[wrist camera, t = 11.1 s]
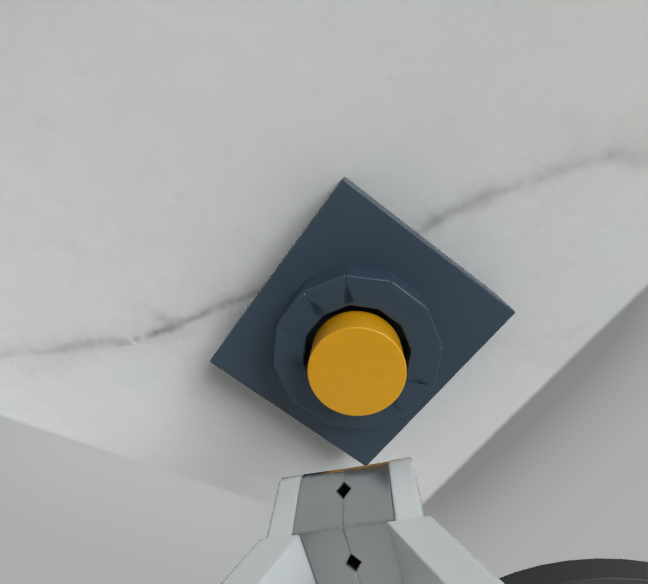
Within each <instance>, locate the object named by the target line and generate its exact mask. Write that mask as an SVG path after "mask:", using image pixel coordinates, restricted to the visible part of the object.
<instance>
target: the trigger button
mask: <svg viewBox="0 0 648 584" xmlns="http://www.w3.org/2000/svg"><path fill="white" fill-rule="evenodd" d="M307 374H308V380H309V384H310V386H311V389H312V390H313V392H314V394H315V395H316V397H317V398H318V399H319V400H320V401H321V402H322V403H323V404H324V405H326V406H327V407H328V408H330V409H332V410H334V411H336V412H338V413H341V414H345V415H350V416H365V415H370V414H374V413H377V412H379V411H381V410H383V409H385V408H387V407H388V406H389V405H391V404H392V403H393V402H394V401H395V400H396V399H397V398H398V396H399V395H400V393H401V392H402V390H403V388H404V385H405V382H406V377H407V366H406V361H405V357H404V354H403V350H402V346H401V342H400V339H399V337H398V335H397V333H396V331H395V330H394V328H393V327H392V326H391V325H390V324H389V323H388V322H387V321H386V320H384V319H383V318H381V317H379V316H377V315H375V314H372V313H369V312H365V311H348V312H343V313H340V314H337V315H335V316H333V317H332V318H330V319H328V320H327V321H326V322H325V323H324V324H323V325H322V326H321V327H320V328H319V330H318V331H317V333H316V335H315V337H314V339H313V343H312V347H311V352H310V357H309V361H308V368H307Z"/></svg>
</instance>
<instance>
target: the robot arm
mask: <svg viewBox="0 0 648 584" xmlns="http://www.w3.org/2000/svg"><path fill="white" fill-rule="evenodd" d="M221 584H504V583H503V582H502V581H501V580H500V579H499V578H498V577H496V576H495V575H494V574H493V573H492V572H491V571H490V570H489V569H488V568H487V567H486V566H484V565H483V564H482V563H481V562H480V561H479V560H478V559H477V558H476V557H475V556H474V555H472V554H471V553H470V552H469V551H468V550H467V549H466V548H465V547H464V546H463V545H461V544H460V543H459V542H458V541H457V540H456V539H455V538H454V537H453V536H451V534H450V533H448V532H447V531H446V530H445V529H444V528H443V527H442V526H441V525H440V524H439V523H437V522H436V521H435V520H434V519H433V518H432V517H431V516H425V514H424V510H423V505H422V501H421V497H420V492H419V488H418V483H417V479H416V475H415V470H414V466H413V462H412V459H411V457H408V458H402V459H397V460H392V461H389V462H383V463H377V464H371V465H365V466H359V467H354V468H348V469H340V470H333V471H325V472H318V473H311V474H304V475H299V476H292V477H285V478H282V479H281V481H280V482H279V485H278V490H277V494H276V499H275V503H274V507H273V512H272V517H271V521H270V525H269V530H268V534H267V538H266V539H262V540H259V541H258V543H257V544H256V545H255V546H254V547H253V548H252V550H250V552H249V553H248V554H247V555H246V556H245V557H244V558H243V560H242V561H241V562H240V563H239V564H238V565H237V566H236V567H235V569H234V570H233V571H232V572H231V573H230V574H229V575H228V577H227V578H226V579H225V580H224V581H223V582H222V583H221Z"/></svg>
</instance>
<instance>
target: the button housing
mask: <svg viewBox="0 0 648 584" xmlns="http://www.w3.org/2000/svg"><path fill="white" fill-rule="evenodd" d="M348 311H365V312H369V313H372V314H375V315H377V316H379V317H381V318H383V319H384V320H386V321H387V322H388V323H389V324H390V325H391V326H392V327H393V328H394V330H395V331H396V333H397V335H398V337H399V339H400V342H401V346H402V350H403V354H404V357H405V361H406V366H407V377H406V382H405V385H404V388H403V390H402V392H401V393H400V395H399V396H398V398H397V399H396V400H395V401H394V402H393V403H392V404H391V405H389V406H388V407H387V408H385V409H383V410H381V411H379V412H377V413H374V414H370V415H365V416H350V415H345V414H341V413H338V412H336V411H334V410H332V409H330V408H328V407H327V406H326V405H324V404H323V403H322V402H321V401H320V400H319V399H318V398H317V397H316V395H315V394H314V392H313V390H312V389H311V386H310V384H309V380H308V374H307V368H308V361H309V357H310V352H311V347H312V343H313V339H314V337H315V335H316V333H317V331H318V330H319V328H320V327H321V326H322V325H323V324H324V323H325V322H326V321H327V320H328V319H330V318H332V317H333V316H335V315H337V314H340V313H343V312H348ZM514 313H515V311H514V310H513V309H512V308H511V307H510V306H509V305H507V304H506V303H505V302H504V301H503V300H502V299H501V298H500V297H499V296H498V295H496V294H495V293H494V292H493V291H491V290H490V289H489V288H487V287H486V286H485V285H484V284H482V283H481V282H480V281H478V280H477V279H476V278H475V277H473V276H472V275H471V274H469V273H468V272H467V271H466V270H464V269H463V268H462V267H460V266H459V265H458V264H457V263H455V262H454V261H453V260H451V259H450V258H449V257H448V256H446V255H445V254H444V253H442V252H441V251H440V250H439V249H437V248H436V247H435V246H433V245H432V244H431V243H430V242H428V241H427V240H426V239H424V238H423V237H422V236H420V235H419V234H418V233H417V232H415V231H414V230H413V229H411V228H410V227H409V226H408V225H406V224H405V223H404V222H402V221H401V220H400V219H399V218H397V217H396V216H395V215H393V214H392V213H391V212H390V211H388V210H387V209H386V208H384V207H383V206H382V205H381V204H379V203H378V202H377V201H375V200H374V199H373V198H372V197H370V196H369V195H368V194H366V193H365V192H364V191H363V190H361V189H360V188H359V187H357V186H356V185H355V184H354V183H352V182H351V181H350V180H348V179H347V178H346V177H343V178H342V180H341V181H340V183H339V184H338V185H337V187H336V188H335V189H334V191H333V192H332V194H331V195H330V196H329V198H328V199H327V200H326V202H325V203H324V204H323V206H322V207H321V209H320V210H319V211H318V213H317V214H316V215H315V217H314V218H313V220H312V221H311V222H310V224H309V225H308V226H307V228H306V229H305V231H304V232H303V233H302V235H301V236H300V237H299V239H298V240H297V242H296V243H295V244H294V246H293V247H292V248H291V250H290V251H289V252H288V254H287V255H286V257H285V258H284V259H283V261H282V262H281V263H280V265H279V266H278V268H277V269H276V270H275V272H274V273H273V274H272V276H271V277H270V279H269V280H268V281H267V283H266V284H265V285H264V287H263V288H262V289H261V291H260V292H259V294H258V295H257V296H256V298H255V299H254V300H253V302H252V303H251V305H250V306H249V307H248V309H247V310H246V311H245V313H244V314H243V316H242V317H241V318H240V320H239V321H238V322H237V324H236V325H235V326H234V328H233V329H232V331H231V332H230V333H229V335H228V336H227V337H226V339H225V340H224V342H223V343H222V344H221V346H220V347H219V349H218V350H217V351H216V353H215V354H214V356H213V357H212V359H211V360H210V362H211V363H213V364H214V365H216V366H217V367H219V368H220V369H222V370H223V371H225V372H226V373H228V374H229V375H231V376H232V377H234V378H235V379H237V380H238V381H240V382H241V383H243V384H244V385H246V386H247V387H249V388H250V389H252V390H253V391H255V392H256V393H258V394H259V395H261V396H262V397H264V398H265V399H266V400H268V401H269V402H271V403H272V404H274V405H275V406H277V407H278V408H280V409H281V410H283V411H284V412H286V413H287V414H289V415H290V416H292V417H293V418H295V419H296V420H298V421H299V422H301V423H302V424H304V425H305V426H307V427H308V428H310V429H311V430H313V431H314V432H316V433H317V434H319V435H320V436H322V437H323V438H325V439H326V440H328V441H329V442H331V443H332V444H334V445H335V446H337V447H338V448H340V449H341V450H343V451H344V452H346V453H347V454H349V455H350V456H352V457H353V458H355V459H356V460H358V461H359V462H360V463H362V464H363V465H368V464H369V463H370V462H371V461H372V460H373V459H374V458H375V457H376V456H377V454H378V453H379V452H380V451H381V450H382V449H383V448H384V447H385V446H386V445H387V444H388V443H389V442H390V441H391V440H392V439H393V438H394V437H395V436H396V435H397V434H398V433H399V432H400V431H401V430H402V429H403V428H404V427H405V426H406V425H407V424H408V423H409V421H410V420H411V419H412V418H413V417H414V416H415V415H416V414H417V413H418V412H419V411H420V410H421V409H422V408H423V407H424V406H425V405H426V404H427V403H428V402H429V401H430V400H431V399H432V398H433V397H434V396H435V395H436V394H437V393H438V392H439V391H440V390H441V388H442V387H443V386H444V385H445V384H446V383H447V382H448V381H449V380H450V379H451V378H452V377H453V376H454V375H455V374H456V373H457V372H458V371H459V370H460V369H461V368H462V367H463V366H464V365H465V364H466V363H467V362H468V361H469V360H470V359H471V358H472V357H473V355H474V354H475V353H476V352H477V351H478V350H479V349H480V348H481V347H482V346H483V345H484V344H485V343H486V342H487V341H488V340H489V339H490V338H491V337H492V336H493V335H494V334H495V333H496V332H497V331H498V330H499V329H500V328H501V327H502V326H503V325H504V324H505V322H506V321H507V320H508V319H509V318H510V317H511V316H512V315H513V314H514Z"/></svg>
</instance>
